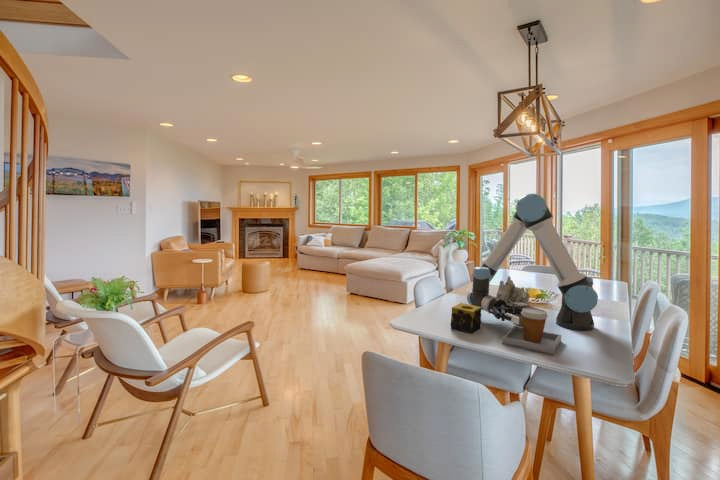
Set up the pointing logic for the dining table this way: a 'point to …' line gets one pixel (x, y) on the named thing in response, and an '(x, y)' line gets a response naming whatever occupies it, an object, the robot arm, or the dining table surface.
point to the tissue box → (466, 318)
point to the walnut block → (520, 314)
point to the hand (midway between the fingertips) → (532, 319)
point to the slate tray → (517, 340)
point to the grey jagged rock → (512, 293)
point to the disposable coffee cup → (533, 324)
